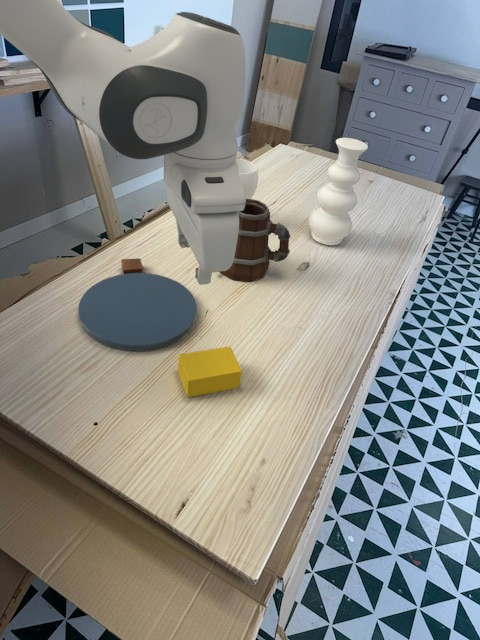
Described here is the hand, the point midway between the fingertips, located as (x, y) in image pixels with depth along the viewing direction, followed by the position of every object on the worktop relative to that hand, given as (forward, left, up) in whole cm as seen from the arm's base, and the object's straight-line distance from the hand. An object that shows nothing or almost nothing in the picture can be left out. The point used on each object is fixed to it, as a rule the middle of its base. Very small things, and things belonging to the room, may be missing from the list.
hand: (193, 262), depth 67 cm
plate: (-5, +16, -21) cm, 27 cm away
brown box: (-4, +30, -21) cm, 37 cm away
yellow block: (+3, -4, -21) cm, 22 cm away
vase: (+47, +36, -21) cm, 63 cm away
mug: (+22, +26, -21) cm, 40 cm away
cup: (+25, +48, -21) cm, 58 cm away
